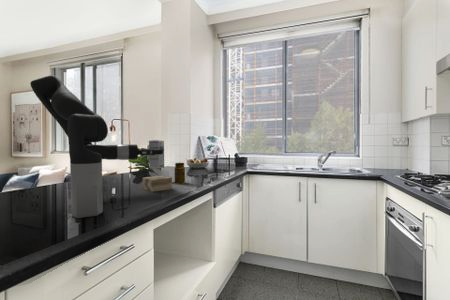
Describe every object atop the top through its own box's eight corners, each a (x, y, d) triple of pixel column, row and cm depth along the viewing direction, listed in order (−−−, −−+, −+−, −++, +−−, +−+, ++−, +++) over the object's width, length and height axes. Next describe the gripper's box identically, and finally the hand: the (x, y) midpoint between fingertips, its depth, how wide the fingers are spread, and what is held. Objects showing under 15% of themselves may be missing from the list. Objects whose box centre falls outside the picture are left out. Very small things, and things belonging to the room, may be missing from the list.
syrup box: (159, 169, 121) (159, 140, 120) (148, 168, 122) (148, 140, 122) (164, 167, 126) (164, 140, 126) (154, 167, 128) (154, 140, 127)
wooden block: (171, 189, 124) (171, 177, 124) (152, 192, 117) (152, 180, 117) (161, 186, 132) (161, 175, 132) (142, 189, 125) (142, 177, 125)
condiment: (187, 183, 142) (187, 162, 141) (175, 184, 136) (175, 163, 135) (180, 181, 147) (180, 162, 147) (168, 183, 141) (168, 163, 141)
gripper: (129, 144, 111) (164, 144, 119) (125, 144, 123) (157, 144, 131) (129, 160, 111) (164, 159, 119) (125, 158, 123) (157, 158, 131)
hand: (160, 151), depth 125 cm, fingers closed on syrup box, 7 cm apart
